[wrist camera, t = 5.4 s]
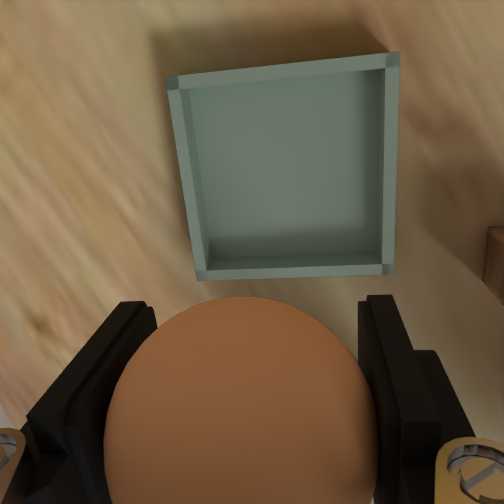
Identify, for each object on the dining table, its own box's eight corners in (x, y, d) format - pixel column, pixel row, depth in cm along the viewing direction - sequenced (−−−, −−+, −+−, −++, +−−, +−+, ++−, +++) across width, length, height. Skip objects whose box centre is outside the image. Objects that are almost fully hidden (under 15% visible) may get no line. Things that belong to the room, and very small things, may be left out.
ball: (362, 251, 9) (420, 430, 4) (361, 431, 11) (401, 689, 6) (140, 260, 10) (-7, 423, 5) (174, 428, 12) (88, 657, 7)
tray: (391, 53, 27) (400, 51, 24) (386, 258, 32) (393, 274, 29) (177, 77, 29) (165, 76, 26) (205, 265, 34) (197, 280, 31)
